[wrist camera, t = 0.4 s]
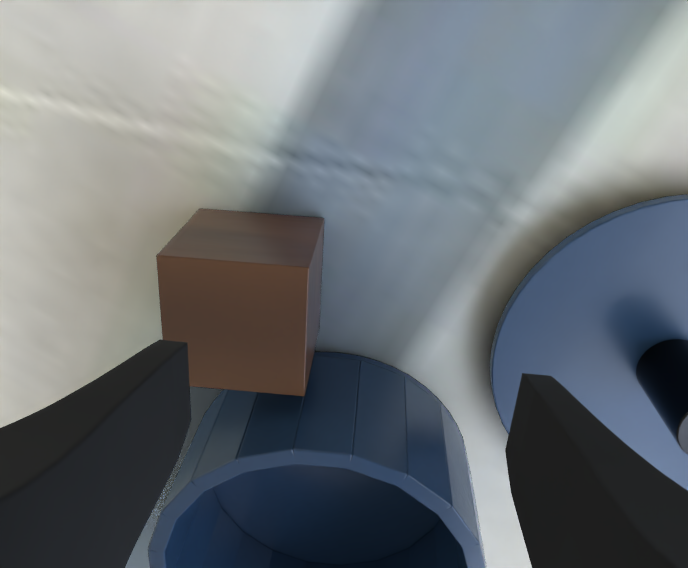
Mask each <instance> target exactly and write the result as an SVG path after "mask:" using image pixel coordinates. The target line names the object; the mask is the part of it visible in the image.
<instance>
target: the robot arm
mask: <svg viewBox="0 0 688 568" xmlns="http://www.w3.org/2000/svg"><path fill="white" fill-rule="evenodd" d="M190 422H191V405H190V384H189V363H188V342H179V341H168V340H159V341H157V342H155V343H153V344H151V345H150V346H148V347H147V348H145V349H143V350H142V351H140V352H139V353H137V354H135V355H134V356H132V357H131V358H129V359H128V360H126V361H125V362H123V363H121V364H120V365H118V366H117V367H115V368H113V369H112V370H110V371H109V372H107V373H105V374H104V375H102V376H101V377H99V378H97V379H96V380H94V381H93V382H91V383H89V384H87V385H85V386H84V387H82V388H80V389H78V390H77V391H75V392H73V393H71V394H70V395H68V396H66V397H64V398H62V399H61V400H59V401H57V402H55V403H53V404H51V405H50V406H48V407H46V408H44V409H42V410H40V411H38V412H35V413H33V414H31V415H29V416H27V417H25V418H23V419H20V420H18V421H16V422H14V423H11V424H9V425H7V426H5V427H2V428H0V568H125V566H126V564H127V561H128V559H129V557H130V555H131V553H132V550H133V548H134V546H135V544H136V542H137V540H138V538H139V536H140V534H141V532H142V530H143V528H144V526H145V524H146V522H147V520H148V518H149V516H150V514H151V512H152V510H153V508H154V506H155V504H156V502H157V500H158V498H159V496H160V494H161V493H162V491H163V489H164V487H165V484H166V482H167V480H168V478H169V476H170V474H171V472H172V470H173V468H174V466H175V464H176V462H177V460H178V457H179V455H180V452H181V449H182V446H183V443H184V440H185V437H186V434H187V431H188V428H189V425H190ZM506 458H507V466H508V474H509V481H510V487H511V493H512V497H513V501H514V505H515V508H516V512H517V515H518V519H519V523H520V526H521V530H522V533H523V537H524V540H525V544H526V547H527V551H528V554H529V558H530V561H531V565H532V568H688V491H687V490H686V489H685V488H683V487H682V486H680V485H679V484H677V483H676V482H674V481H673V480H672V479H670V478H669V477H667V476H666V475H665V474H663V473H662V472H661V471H659V470H658V469H657V468H655V467H654V466H653V465H651V464H650V463H649V462H648V461H646V460H645V459H644V458H643V457H641V456H640V455H639V454H638V453H636V452H635V451H634V450H633V449H632V448H630V447H629V446H628V445H627V444H626V443H624V442H623V441H622V440H621V439H620V438H619V437H617V436H616V435H615V434H614V433H613V432H612V431H611V430H609V429H608V428H607V427H606V426H605V425H604V424H603V423H602V422H601V421H600V420H598V419H597V418H596V417H595V416H594V415H593V414H592V413H591V412H590V411H589V410H588V409H587V408H586V407H585V406H584V405H583V404H581V403H580V402H579V401H578V400H577V399H576V398H575V397H574V396H573V395H572V394H571V393H570V392H569V391H568V390H567V389H566V388H565V387H564V386H562V385H561V384H560V383H559V382H558V381H557V380H556V379H555V378H553V377H552V376H548V375H538V374H527V373H522V376H521V381H520V386H519V390H518V395H517V399H516V404H515V409H514V413H513V418H512V422H511V427H510V431H509V436H508V441H507V445H506Z"/></svg>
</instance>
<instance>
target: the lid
mask: <svg viewBox="0 0 688 568" xmlns="http://www.w3.org/2000/svg"><path fill="white" fill-rule="evenodd" d="M522 373H527V374H538V375H548V376H552V377H553V378H555V379H556V380H557V381H558V382H559V383H560V384H561V385H562V386H564V387H565V388H566V389H567V390H568V391H569V392H570V393H571V394H572V395H573V396H574V397H575V398H576V399H577V400H578V401H579V402H580V403H581V404H583V405H584V406H585V407H586V408H587V409H588V410H589V411H590V412H591V413H592V414H593V415H594V416H595V417H596V418H597V419H598V420H600V421H601V422H602V423H603V424H604V425H605V426H606V427H607V428H608V429H609V430H611V431H612V432H613V433H614V434H615V435H616V436H617V437H619V438H620V439H621V440H622V441H623V442H624V443H626V444H627V445H628V446H629V447H630V448H632V449H633V450H634V451H635V452H636V453H638V454H639V455H640V456H641V457H643V458H644V459H645V460H646V461H648V462H649V463H650V464H651V465H653V466H654V467H655V468H657V469H658V470H659V471H661V472H662V473H663V474H665V475H666V476H667V477H669V478H670V479H672V480H673V481H674V482H676V483H677V484H679V485H680V486H682V487H683V488H685V489H686V490H687V491H688V194H686V195H677V196H667V197H662V198H658V199H653V200H649V201H645V202H640V203H637V204H634V205H631V206H628V207H625V208H623V209H620V210H617V211H614V212H612V213H610V214H608V215H605V216H603V217H601V218H599V219H597V220H595V221H593V222H591V223H589V224H587V225H586V226H584V227H583V228H581V229H579V230H578V231H576V232H575V233H573V234H571V235H570V236H568V237H567V238H565V239H564V240H563V241H562V242H560V243H559V244H558V245H557V246H555V247H554V248H553V249H552V250H550V251H549V252H548V253H547V254H546V255H545V256H544V257H543V258H542V259H541V260H540V261H539V262H538V263H537V264H536V265H535V266H534V267H533V268H532V269H531V270H530V271H529V273H528V274H527V275H526V276H525V278H524V279H523V280H522V282H521V283H520V284H519V285H518V287H517V288H516V290H515V291H514V293H513V295H512V296H511V298H510V300H509V302H508V303H507V305H506V307H505V309H504V311H503V313H502V316H501V318H500V321H499V323H498V325H497V328H496V332H495V336H494V340H493V344H492V349H491V359H490V379H491V387H492V392H493V397H494V401H495V405H496V409H497V411H498V414H499V416H500V419H501V421H502V424H503V426H504V427H505V429H506V431H507V433H508V434H509V431H510V427H511V422H512V418H513V413H514V409H515V404H516V399H517V395H518V390H519V386H520V381H521V376H522Z"/></svg>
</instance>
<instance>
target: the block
mask: <svg viewBox="0 0 688 568" xmlns="http://www.w3.org/2000/svg"><path fill="white" fill-rule="evenodd" d="M323 240H324V218H317V217H304V216H291V215H278V214H265V213H252V212H239V211H226V210H213V209H199V210H198V211H197V212H196V213H195V214H194V215H193V216H192V217H191V218H190V219H189V220H188V222H187V223H186V224H185V225H184V226H183V227H182V228H181V229H180V230H179V231H178V233H177V234H176V235H175V236H174V237H173V238H172V239H171V240H170V241H169V242H168V243H167V245H166V246H165V247H164V248H163V249H162V250H161V251H160V252H159V253H158V254H157V256H156V257H157V270H158V283H159V296H160V310H161V323H162V336H163V340H168V341H179V342H188V363H189V384H190V386H193V387H204V388H215V389H227V390H238V391H249V392H260V393H272V394H283V395H294V396H305V392H306V388H307V383H308V379H309V374H310V369H311V365H312V360H313V356H314V351H315V346H316V342H317V337H318V333H319V327H320V305H321V284H322V262H323Z"/></svg>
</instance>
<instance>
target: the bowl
mask: <svg viewBox="0 0 688 568" xmlns="http://www.w3.org/2000/svg"><path fill="white" fill-rule="evenodd" d="M148 556H149V566H150V568H486V562H485V556H484V550H483V544H482V538H481V532H480V526H479V520H478V514H477V508H476V502H475V496H474V490H473V484H472V478H471V472H470V467H469V463H468V458H467V453H466V449H465V445H464V441H463V437H462V435H461V433H460V430H459V428H458V426H457V424H456V422H455V421H454V419H453V417H452V416H451V414H450V412H449V411H448V410H447V408H446V407H445V406H444V405H443V404H442V402H441V401H440V400H439V399H438V398H437V397H436V396H435V395H434V394H433V393H432V392H431V391H430V390H428V389H427V388H426V387H425V386H424V385H422V384H421V383H420V382H418V381H417V380H415V379H414V378H412V377H411V376H409V375H408V374H406V373H404V372H402V371H400V370H398V369H396V368H394V367H392V366H390V365H387V364H384V363H382V362H379V361H377V360H373V359H369V358H366V357H362V356H358V355H352V354H345V353H338V352H314V356H313V360H312V365H311V369H310V374H309V379H308V383H307V388H306V392H305V396H294V395H283V394H272V393H260V392H249V391H238V390H227V389H224V390H223V391H222V392H221V393H220V394H219V395H218V397H217V398H216V399H215V400H214V401H213V403H212V404H211V406H210V408H209V409H208V410H207V411H206V413H205V414H204V416H203V419H202V421H201V423H200V425H199V428H198V430H197V432H196V434H195V436H194V439H193V441H192V443H191V445H190V448H189V450H188V452H187V454H186V456H185V459H184V461H183V463H182V465H181V468H180V470H179V472H178V474H177V476H176V479H175V481H174V483H173V485H172V488H171V490H170V492H169V494H168V496H167V499H166V501H165V503H164V505H163V508H162V510H161V512H160V515H159V517H158V520H157V523H156V526H155V529H154V532H153V535H152V537H151V540H150V543H149V546H148Z"/></svg>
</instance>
